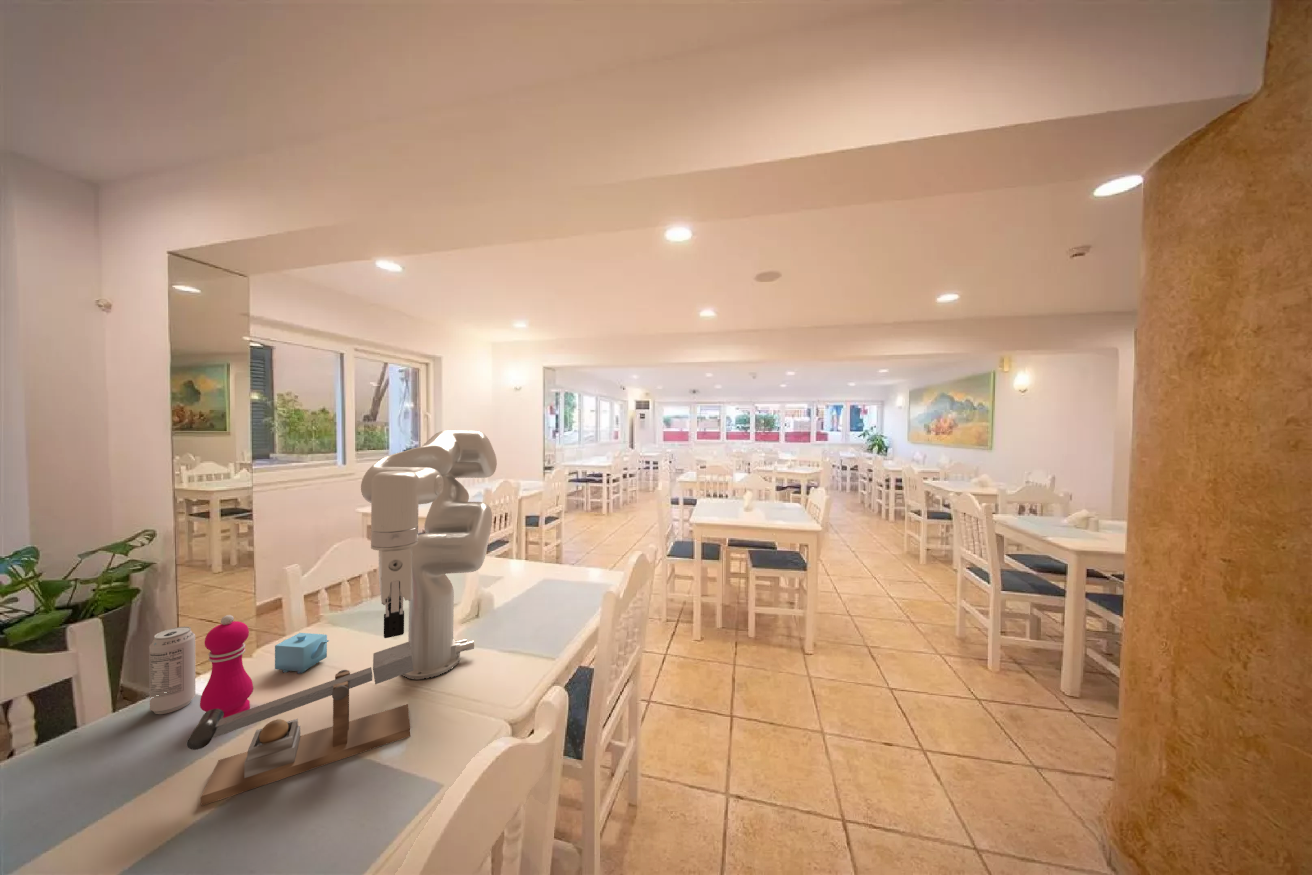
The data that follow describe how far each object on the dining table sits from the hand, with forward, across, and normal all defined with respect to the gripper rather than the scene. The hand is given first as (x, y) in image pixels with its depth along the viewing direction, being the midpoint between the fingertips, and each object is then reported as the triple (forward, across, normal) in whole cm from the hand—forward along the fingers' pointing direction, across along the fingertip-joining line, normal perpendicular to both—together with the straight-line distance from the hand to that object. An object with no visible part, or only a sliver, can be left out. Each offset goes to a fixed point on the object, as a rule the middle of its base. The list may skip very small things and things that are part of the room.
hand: (393, 634), depth 79 cm
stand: (+18, 0, +11) cm, 21 cm away
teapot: (+18, +34, +17) cm, 42 cm away
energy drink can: (+18, +30, +37) cm, 51 cm away
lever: (+8, 0, +11) cm, 14 cm away
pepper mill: (+18, +20, +27) cm, 38 cm away
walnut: (+12, 0, +17) cm, 21 cm away
